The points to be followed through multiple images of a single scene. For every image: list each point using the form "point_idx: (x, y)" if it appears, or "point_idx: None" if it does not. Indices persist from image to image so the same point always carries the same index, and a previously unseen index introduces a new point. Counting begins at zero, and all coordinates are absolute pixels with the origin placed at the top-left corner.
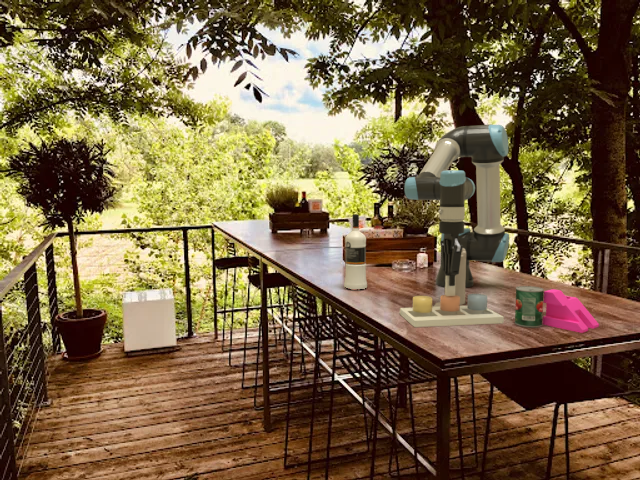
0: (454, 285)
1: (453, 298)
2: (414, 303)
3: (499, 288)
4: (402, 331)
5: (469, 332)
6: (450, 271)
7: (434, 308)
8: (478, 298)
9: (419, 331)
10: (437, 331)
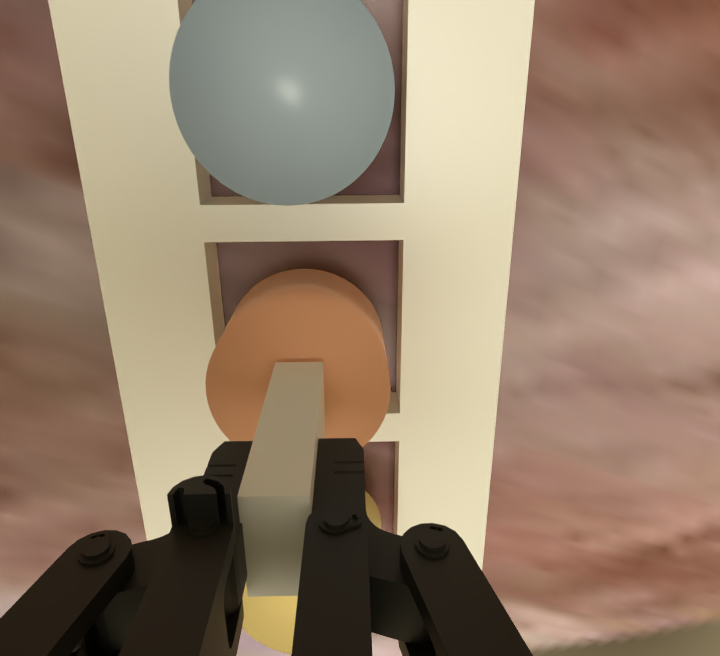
0: (356, 442)
1: (375, 387)
2: None
3: None
4: (529, 624)
5: (663, 312)
6: (420, 653)
7: (177, 401)
8: (386, 126)
9: (553, 556)
10: (582, 476)
